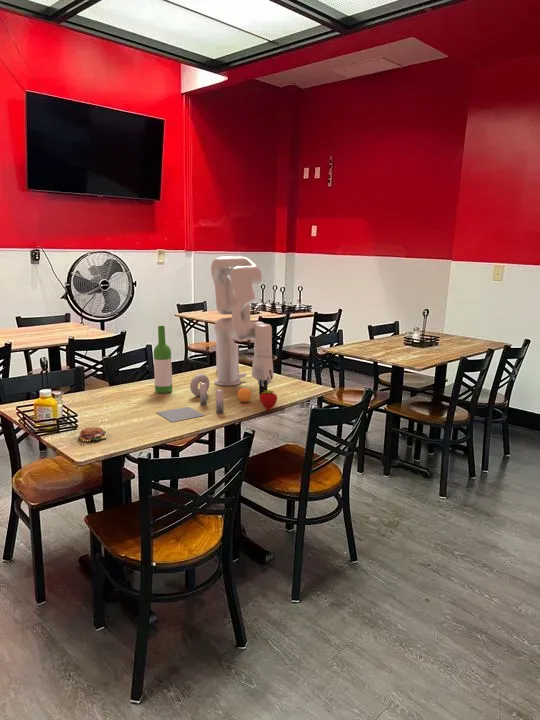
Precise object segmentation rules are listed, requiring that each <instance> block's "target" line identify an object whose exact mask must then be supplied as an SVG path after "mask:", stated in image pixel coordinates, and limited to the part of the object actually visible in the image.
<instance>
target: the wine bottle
mask: <svg viewBox="0 0 540 720" xmlns="http://www.w3.org/2000/svg"><path fill="white" fill-rule="evenodd" d="M157 332H158V334H157V337H158V339H157V340H158V343H157V345H156V346H155V347H154V349H153V369H154V370H153V371H154V390H155V393H158V394H168V393H171V392H172V391H173V371H172V370H173V369H172V367H173V366H172V349H171V347H170V346H169V345H167V343H166V328H165V325H158V326H157Z"/></svg>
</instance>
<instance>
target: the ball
mask: <svg viewBox="0 0 540 720" xmlns="http://www.w3.org/2000/svg"><path fill="white" fill-rule="evenodd" d="M252 396H253V395H252V392H251V390H250V389H249V388H246V387H243V388H241V389H239V390H238V392H237V399H238V400H239V401H240V402H241V403H248V402H249V401H251V399H252Z"/></svg>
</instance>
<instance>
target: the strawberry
mask: <svg viewBox="0 0 540 720" xmlns="http://www.w3.org/2000/svg"><path fill="white" fill-rule="evenodd" d="M263 391H264V390H263ZM259 401H260V403H261V405H262V406H263V408H265V410H266V411H267V412H269V411H271V410H272V409H273V407H274V406H275V405H276V404H277V401H278V396H277V394H275V391H273V390H270V389H269V390H268V389H267V391H265V392H263V393H261V394H259Z"/></svg>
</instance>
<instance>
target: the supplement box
mask: <svg viewBox="0 0 540 720" xmlns="http://www.w3.org/2000/svg"><path fill="white" fill-rule="evenodd" d="M236 345H237V372H238V373H240V369H239V368H240V364H239V344H237V343H236ZM215 356H216V357H215V361H216V363H215V364H216V366H215V367H216V372H217V371H218V362H217V343H216V344H215Z"/></svg>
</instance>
